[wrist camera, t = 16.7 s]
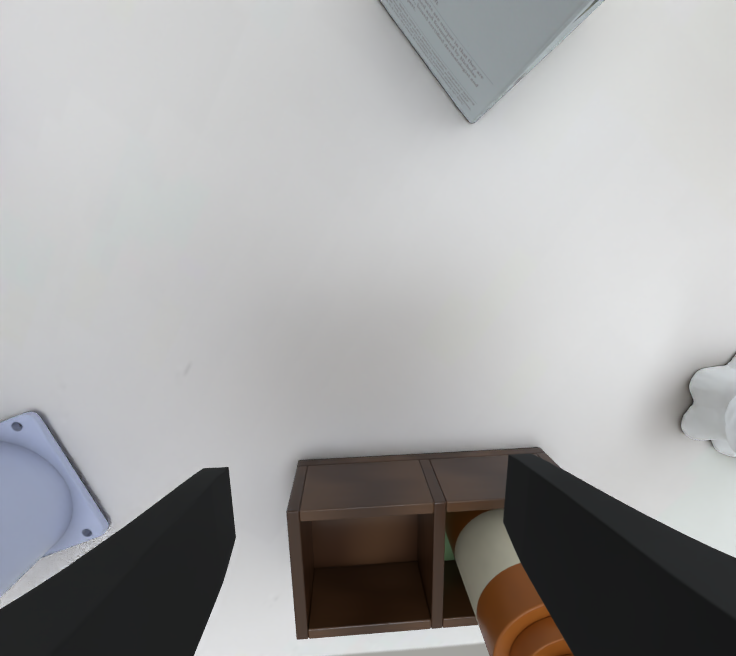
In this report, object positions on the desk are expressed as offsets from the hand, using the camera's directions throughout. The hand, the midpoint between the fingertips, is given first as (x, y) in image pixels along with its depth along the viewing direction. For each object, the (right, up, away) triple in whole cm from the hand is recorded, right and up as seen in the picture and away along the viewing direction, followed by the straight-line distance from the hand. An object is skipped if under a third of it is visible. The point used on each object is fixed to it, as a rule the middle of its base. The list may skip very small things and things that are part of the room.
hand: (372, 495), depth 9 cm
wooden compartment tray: (+3, -7, +12) cm, 14 cm away
